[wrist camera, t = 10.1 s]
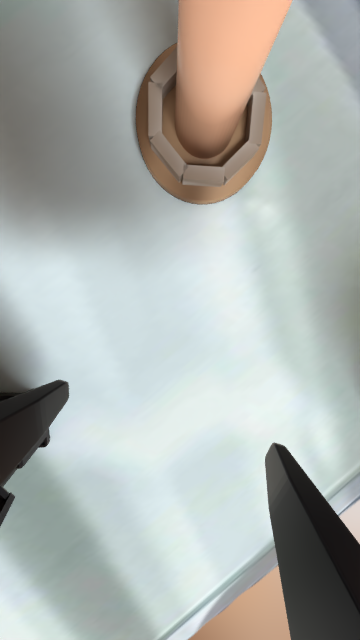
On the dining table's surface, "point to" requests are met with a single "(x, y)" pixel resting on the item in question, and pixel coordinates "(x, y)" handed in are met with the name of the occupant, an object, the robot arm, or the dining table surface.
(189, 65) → the peach rounded knob
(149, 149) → the flange seat
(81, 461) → the dining table surface
